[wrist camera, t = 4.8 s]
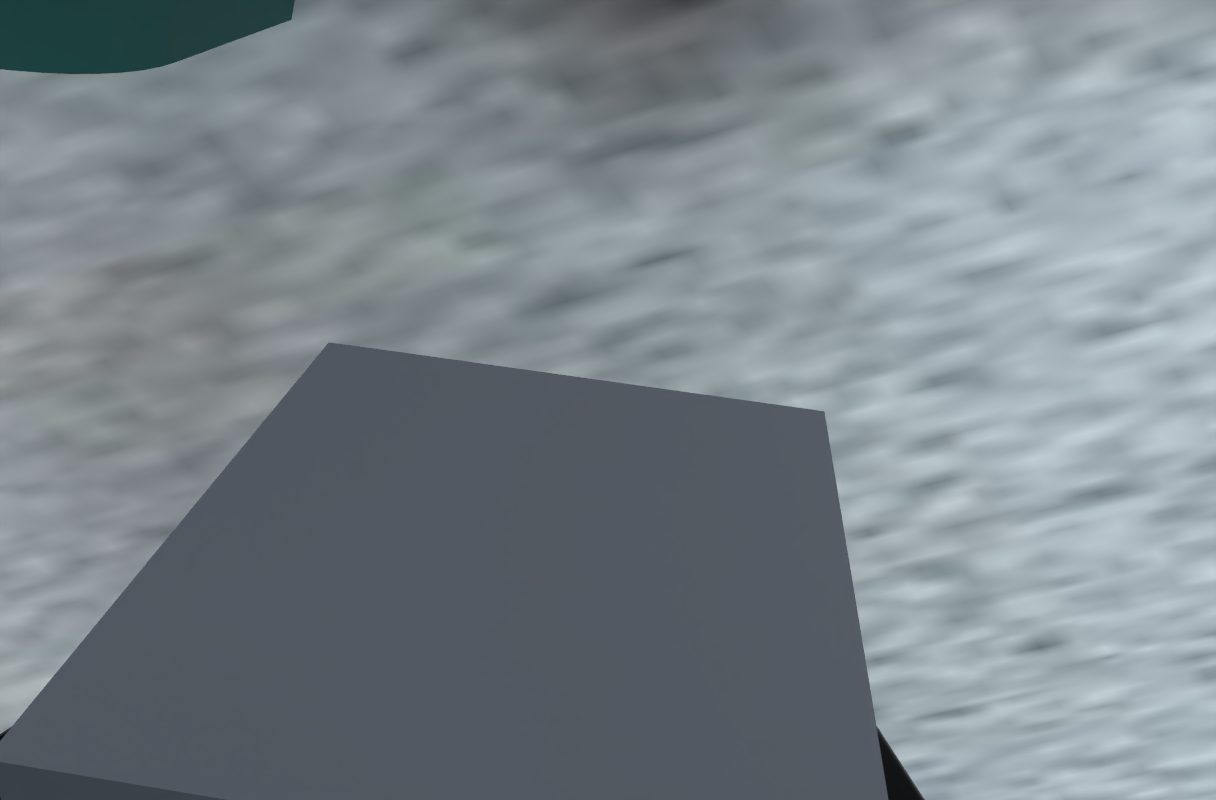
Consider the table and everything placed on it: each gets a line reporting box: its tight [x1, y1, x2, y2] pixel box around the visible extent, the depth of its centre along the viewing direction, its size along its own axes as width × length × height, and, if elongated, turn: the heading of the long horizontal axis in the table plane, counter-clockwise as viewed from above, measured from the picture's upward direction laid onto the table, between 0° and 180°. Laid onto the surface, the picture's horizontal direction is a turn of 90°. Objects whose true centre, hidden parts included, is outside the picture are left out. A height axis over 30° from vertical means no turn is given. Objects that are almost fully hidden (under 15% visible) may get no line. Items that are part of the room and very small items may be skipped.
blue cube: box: [0, 343, 888, 800], centre depth 8 cm, size 5×5×5 cm
